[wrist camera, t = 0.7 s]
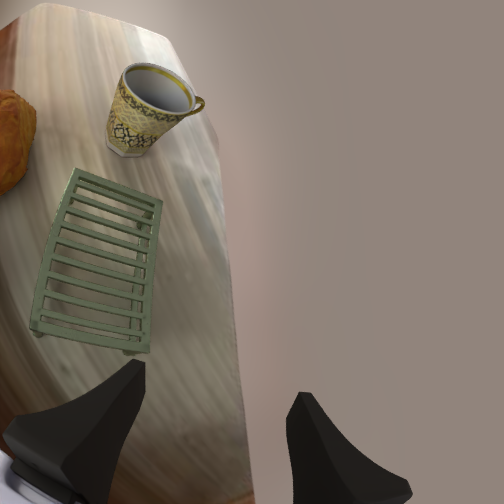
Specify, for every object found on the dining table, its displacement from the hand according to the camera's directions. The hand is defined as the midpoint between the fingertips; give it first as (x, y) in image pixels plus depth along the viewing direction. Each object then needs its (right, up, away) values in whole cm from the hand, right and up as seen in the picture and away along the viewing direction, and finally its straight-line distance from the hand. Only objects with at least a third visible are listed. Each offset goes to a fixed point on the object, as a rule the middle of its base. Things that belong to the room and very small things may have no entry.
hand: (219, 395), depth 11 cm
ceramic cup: (-15, +22, +22) cm, 34 cm away
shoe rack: (-14, +5, +12) cm, 19 cm away
